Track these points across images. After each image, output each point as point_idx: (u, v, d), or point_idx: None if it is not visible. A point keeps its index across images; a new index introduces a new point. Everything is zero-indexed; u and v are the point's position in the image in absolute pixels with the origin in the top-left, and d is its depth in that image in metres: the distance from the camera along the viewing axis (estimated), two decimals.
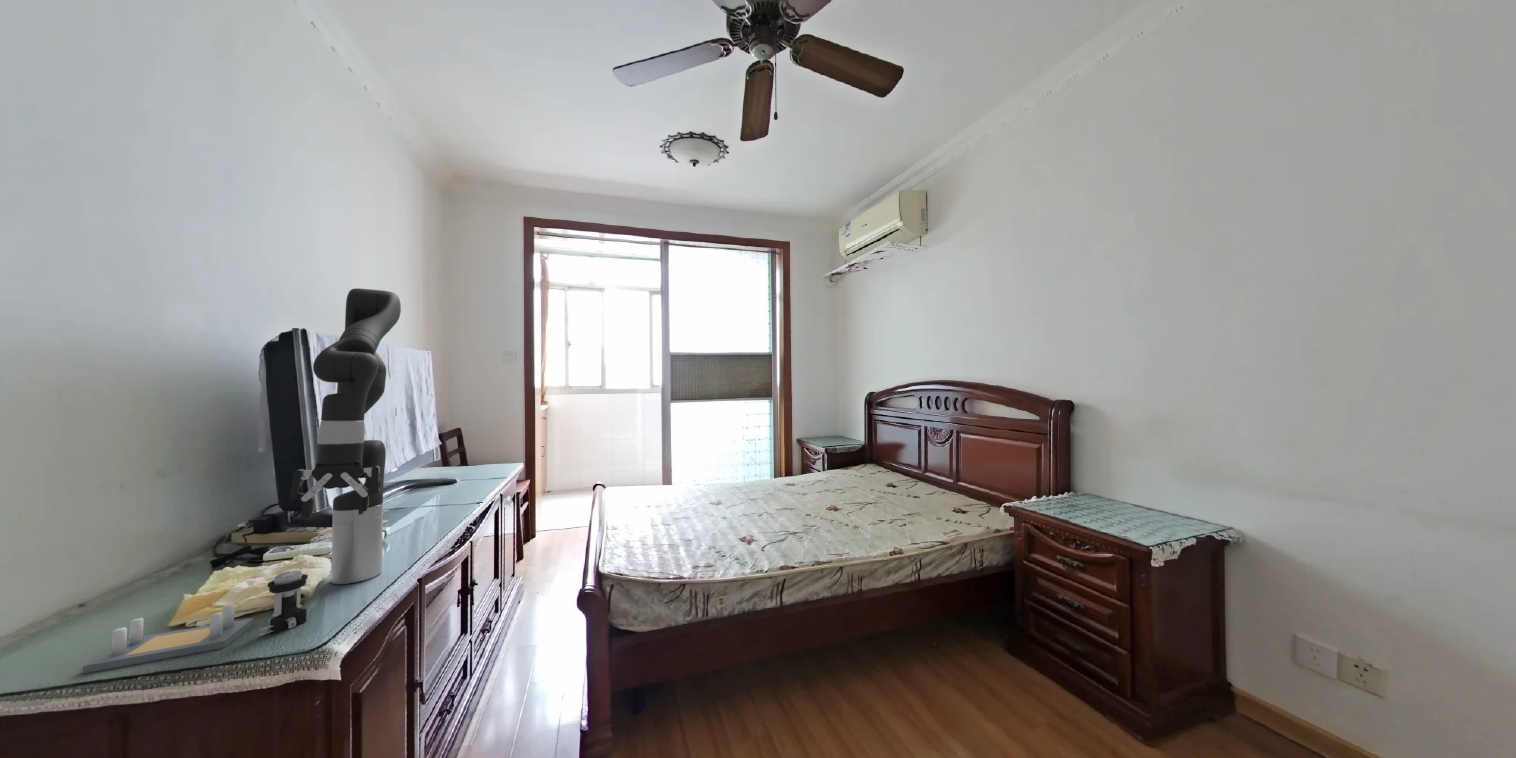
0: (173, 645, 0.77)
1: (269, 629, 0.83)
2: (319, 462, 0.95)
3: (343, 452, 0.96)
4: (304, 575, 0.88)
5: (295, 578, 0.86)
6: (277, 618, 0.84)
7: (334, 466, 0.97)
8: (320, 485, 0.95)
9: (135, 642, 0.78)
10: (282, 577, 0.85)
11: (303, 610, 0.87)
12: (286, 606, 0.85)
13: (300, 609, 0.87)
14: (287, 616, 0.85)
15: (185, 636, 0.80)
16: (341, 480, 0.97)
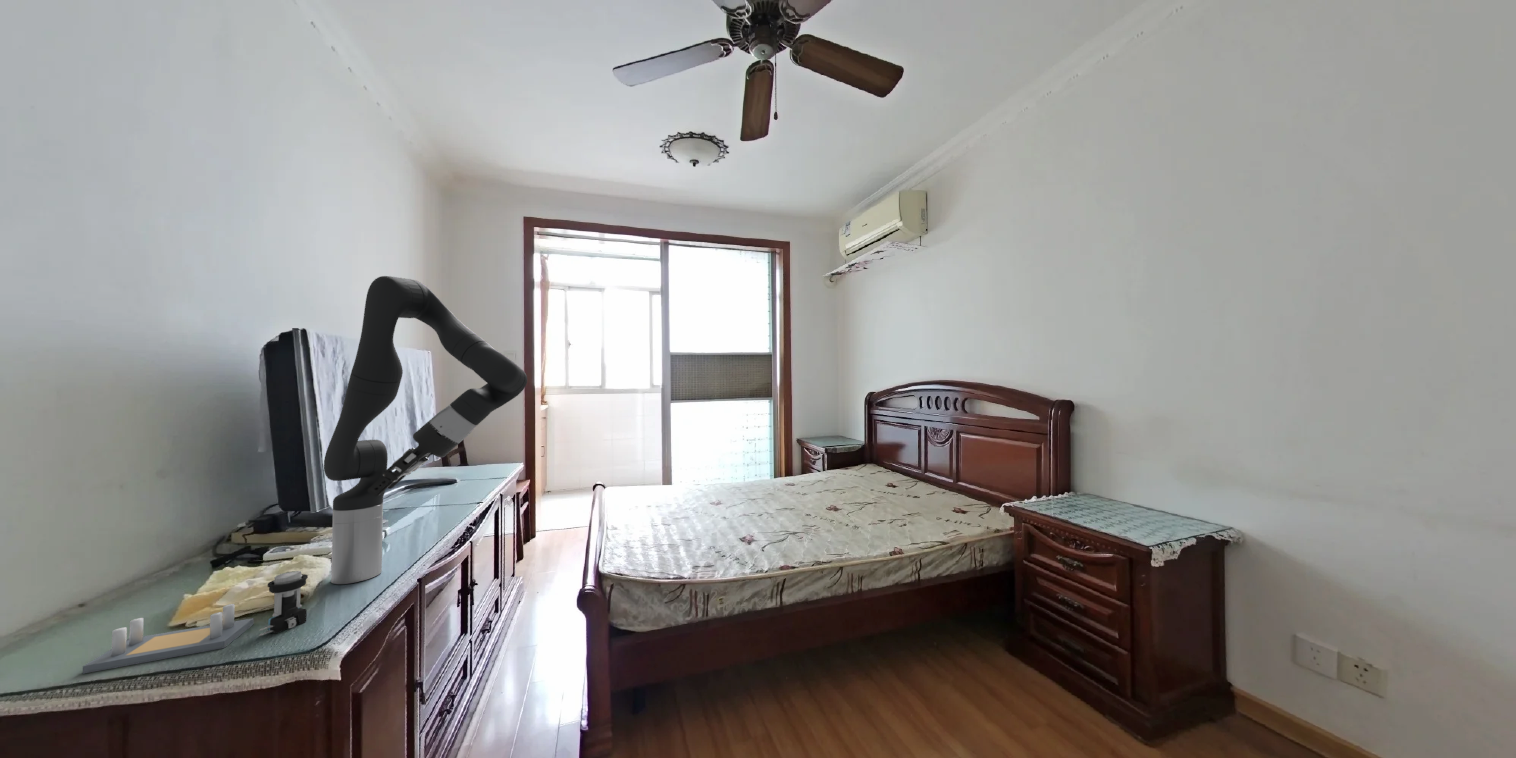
0: (173, 645, 0.77)
1: (269, 629, 0.83)
2: (436, 454, 0.94)
3: None
4: (304, 575, 0.88)
5: (295, 578, 0.86)
6: (277, 618, 0.84)
7: (428, 453, 0.95)
8: (413, 469, 0.93)
9: (135, 642, 0.78)
10: (282, 577, 0.85)
11: (303, 610, 0.87)
12: (286, 606, 0.85)
13: (300, 609, 0.87)
14: (287, 616, 0.85)
15: (185, 636, 0.80)
16: None
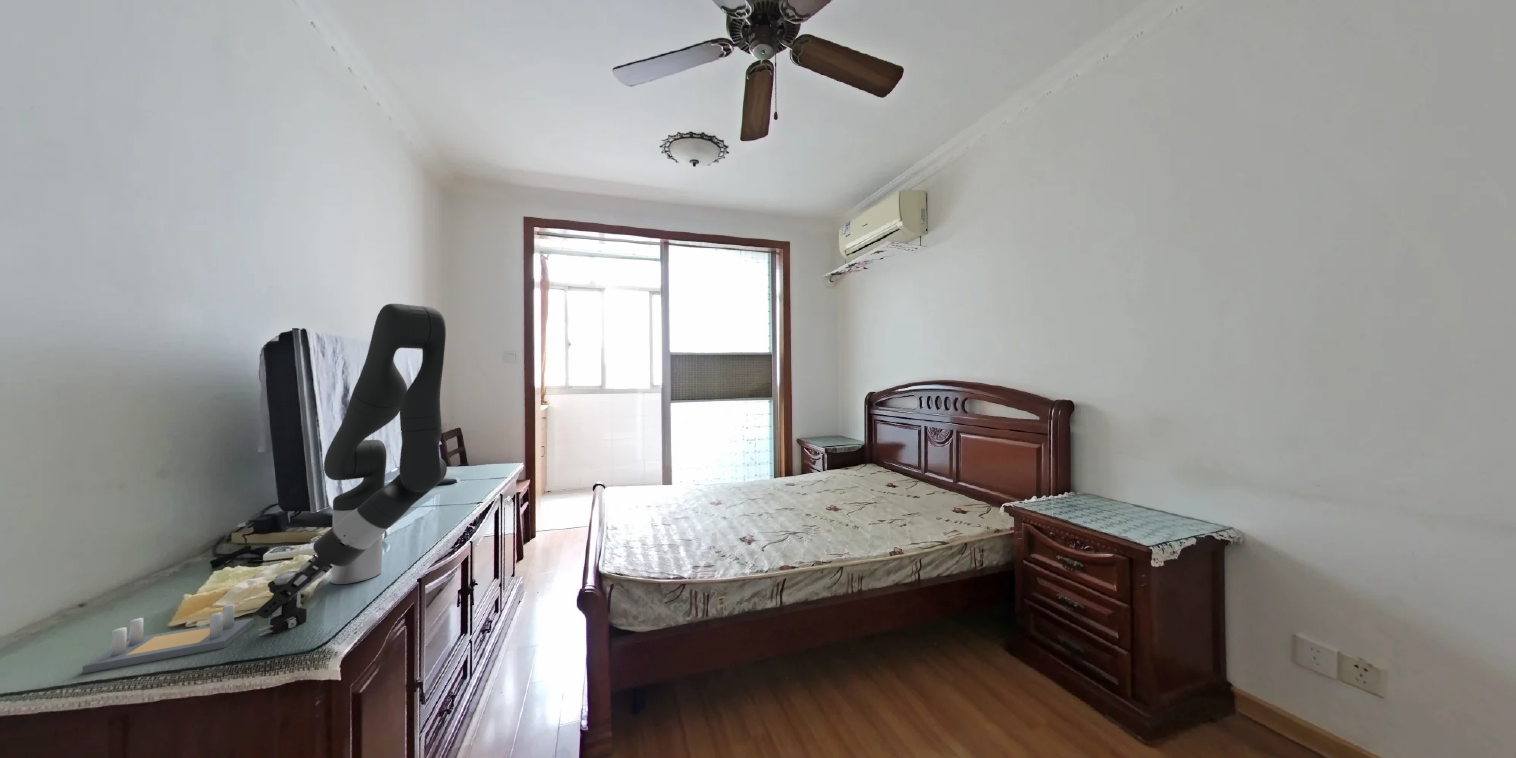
0: (173, 645, 0.77)
1: (269, 629, 0.83)
2: (338, 565, 0.87)
3: None
4: None
5: None
6: (277, 618, 0.84)
7: None
8: None
9: (135, 642, 0.78)
10: (282, 577, 0.84)
11: (303, 610, 0.87)
12: (286, 606, 0.85)
13: (300, 609, 0.87)
14: (287, 616, 0.85)
15: (185, 636, 0.80)
16: None
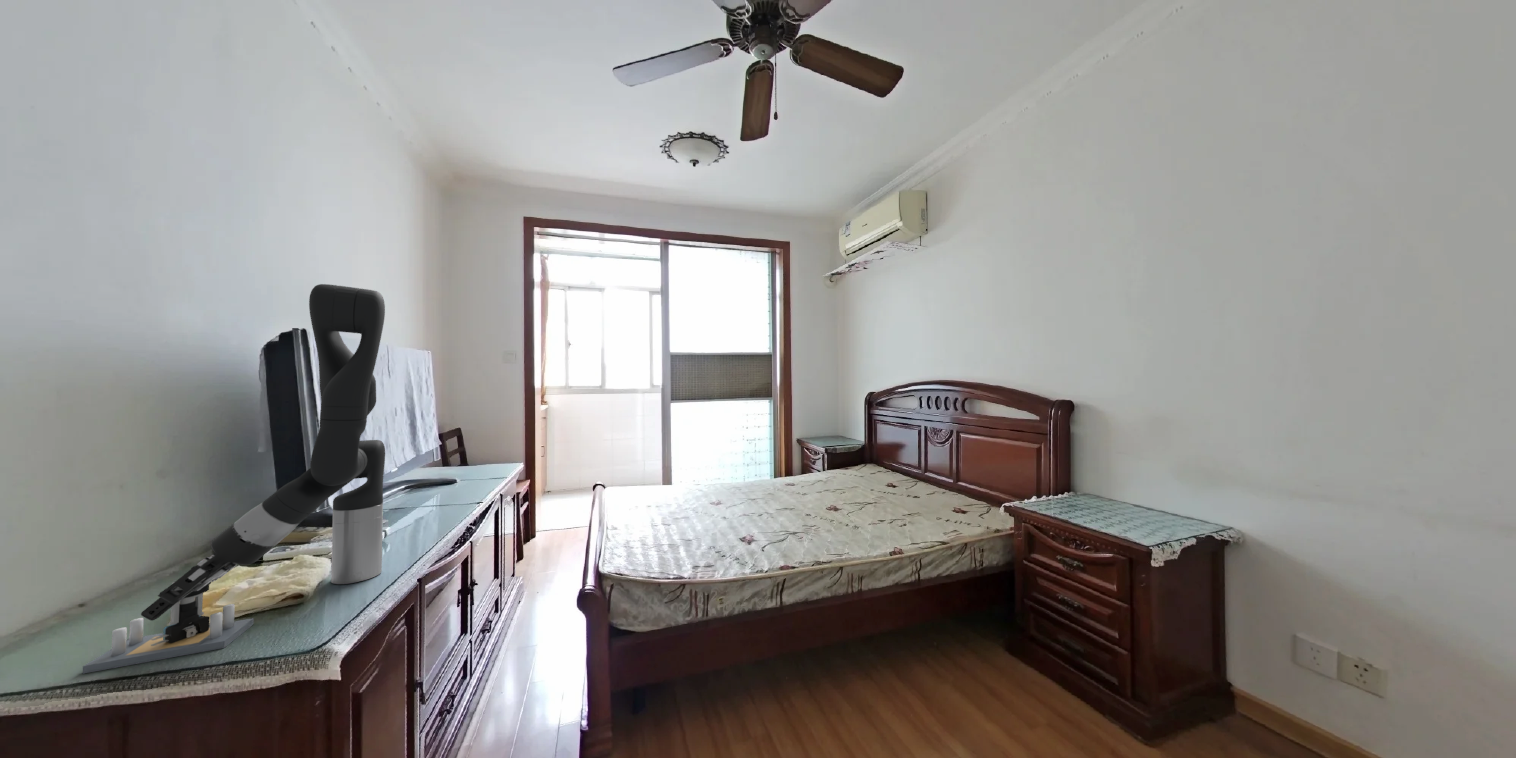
0: (173, 645, 0.77)
1: (164, 639, 0.78)
2: (239, 562, 0.81)
3: None
4: None
5: None
6: (173, 627, 0.78)
7: None
8: None
9: (135, 642, 0.78)
10: None
11: (205, 618, 0.82)
12: (184, 613, 0.80)
13: (202, 617, 0.82)
14: (185, 624, 0.80)
15: None
16: None
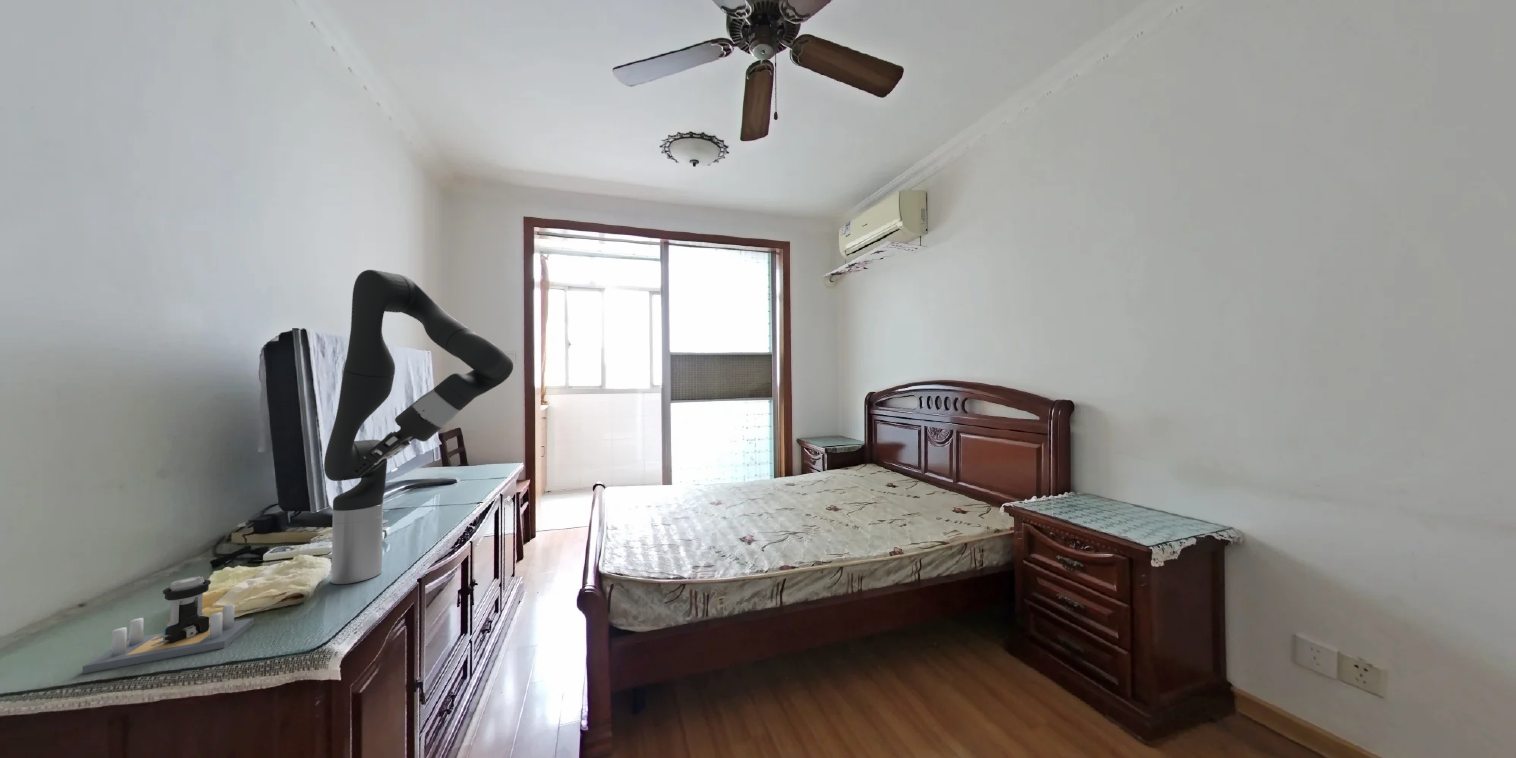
0: (173, 645, 0.77)
1: (164, 639, 0.78)
2: (418, 438, 0.94)
3: None
4: (207, 581, 0.83)
5: (195, 584, 0.80)
6: (173, 627, 0.78)
7: (410, 436, 0.95)
8: (394, 453, 0.92)
9: (135, 642, 0.78)
10: (180, 583, 0.79)
11: (205, 618, 0.82)
12: (184, 613, 0.79)
13: (202, 617, 0.82)
14: (185, 624, 0.80)
15: None
16: None
